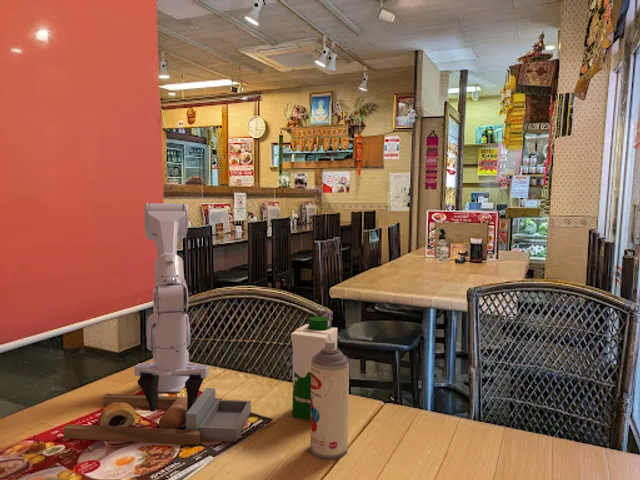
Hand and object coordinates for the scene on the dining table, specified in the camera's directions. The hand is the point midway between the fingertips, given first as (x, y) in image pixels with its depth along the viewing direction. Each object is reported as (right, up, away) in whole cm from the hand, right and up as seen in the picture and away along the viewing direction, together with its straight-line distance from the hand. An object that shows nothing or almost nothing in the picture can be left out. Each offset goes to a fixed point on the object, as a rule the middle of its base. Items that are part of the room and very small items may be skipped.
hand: (172, 410), depth 93 cm
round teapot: (-21, -4, -10) cm, 24 cm away
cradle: (+11, -3, -1) cm, 11 cm away
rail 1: (-4, -2, +8) cm, 9 cm away
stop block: (+6, -3, 0) cm, 7 cm away
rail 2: (-6, -3, -6) cm, 9 cm away
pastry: (-11, -3, +1) cm, 12 cm away
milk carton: (+28, -3, +5) cm, 29 cm away
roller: (0, -3, 0) cm, 3 cm away
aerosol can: (+31, -4, -9) cm, 33 cm away
